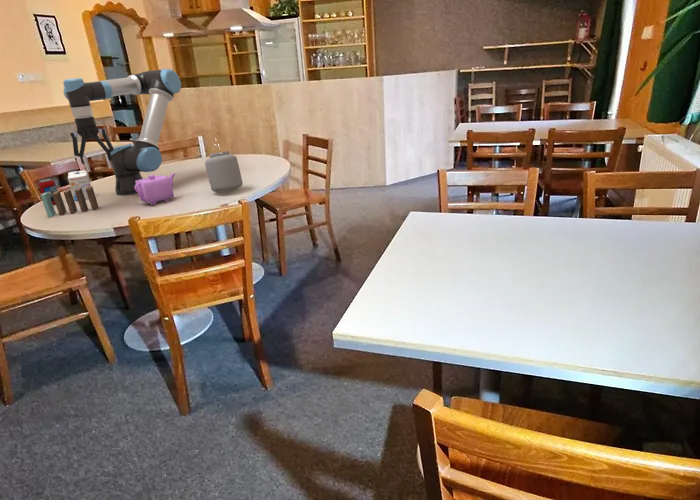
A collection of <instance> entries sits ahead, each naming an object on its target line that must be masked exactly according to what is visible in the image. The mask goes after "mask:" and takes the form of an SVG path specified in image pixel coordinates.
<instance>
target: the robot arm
mask: <svg viewBox="0 0 700 500" xmlns="http://www.w3.org/2000/svg"><path fill="white" fill-rule="evenodd" d="M181 90H182V82H181V79H180V76H179V75H178V74H177V72H176V71H174V70H172V69H170V68H161V69H156V70H146V71H142V72H139V73H135V74H130V75H128V76H127V77H119V78H113V79H106V80H105V79H104V80H95V81H89V82H84V79H83V78H82V77H81V78H80V77H79V78H77V77H76V78H66V79H64V80H63V94H64V97H65V99H66V100H67V101H68V104H69V106H70V109H71V112H72V114H71V115H72V117H73V118H74V123H75V127H76V131H75V132H74V131H72V132H70V136H71V138H72V146H73V155H74V156H75V157H79V158H80V161H81V164H82V165H84V166H85V168H86V170H85V171H86V173H89V172H90V171H91V168H90V165H89V162H88V161H89V160H88V158H87V155H85V149H86V144H87V141H88V140H95V141H96V142H97V144H98V145H99V147H101V148H102V150H103V151H104V152H105V153H104V156H105V159H106V163H107V167H108V170H109V169H112V170H113V173H114V176H115V188H114V189H115V194H116V195H117V196H118V195H119V196H127V195H134V194H139V193H138V192H136V190H135V185H136V183H135V181H137V180H141V179H144V177H143V176H142V174H141V173H151V172H152V173H153V172H155V171H157V170H158V169H159V168H160V167H161V164H162V162H163V157H162V152H161V151H160V147H159V140H160V137H161V136H160V135H161V133H162V128H163V125H164V121H165V117H166V113H167V110H168V105H169V103H170V102H173V99H174V97H175V94H177V93H179V92H180V91H181ZM130 94H132V95H134V96H138V95H150V96H149V101H148V104H147V108H146V111H145V116H144V120H143V123H142V126H141V130H140V134H139V137H138V139H135V140H134V143H133V144H132V143H131V144H127V145H121V146H117V147H113V145H112V142H111V140H110V138H109V136H108V134H107V130H106V128H99V127H98V126H97V123H96V120H95V117H94V113H93V109H92V106H91V103H90V102H96V101H103V100H104V101H106V100H109V99H111V98H112V97H116V96H125V95H130ZM98 133H100V134H101V135H102V137H103V139H104V141H105V143H106V144H105V143H104V142H103V141H102V139H101V138H100V136H99V135H98ZM78 135H79V136H80V137H81V139H80V141H81V143H80V148H79V145H78Z"/></svg>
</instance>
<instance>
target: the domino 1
mask: <svg viewBox="0 0 700 500" xmlns="http://www.w3.org/2000/svg"><path fill="white" fill-rule="evenodd" d="M40 198H41V201H42V204H43V207H44V209H45V212H46V215H47V217H48V218H52V217H54V216H56V214H57V213H56V211H55V208H54V205H53V204H52V202H51V199H50V196H49V193H48V192H47V193H43V194H42V193H41V194H40Z"/></svg>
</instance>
